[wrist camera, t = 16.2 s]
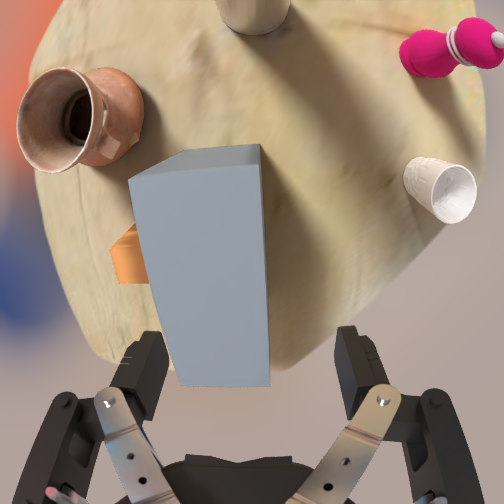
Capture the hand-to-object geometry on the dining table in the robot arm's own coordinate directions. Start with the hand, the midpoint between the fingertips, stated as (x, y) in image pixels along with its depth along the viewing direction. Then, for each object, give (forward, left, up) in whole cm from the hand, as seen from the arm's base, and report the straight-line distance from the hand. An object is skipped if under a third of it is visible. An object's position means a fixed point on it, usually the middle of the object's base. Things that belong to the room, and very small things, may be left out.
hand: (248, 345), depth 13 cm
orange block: (+1, -17, -32) cm, 36 cm away
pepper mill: (-10, +30, -32) cm, 45 cm away
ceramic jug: (-20, -16, -32) cm, 41 cm away
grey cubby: (+5, -7, -32) cm, 33 cm away
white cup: (+8, +24, -32) cm, 41 cm away
